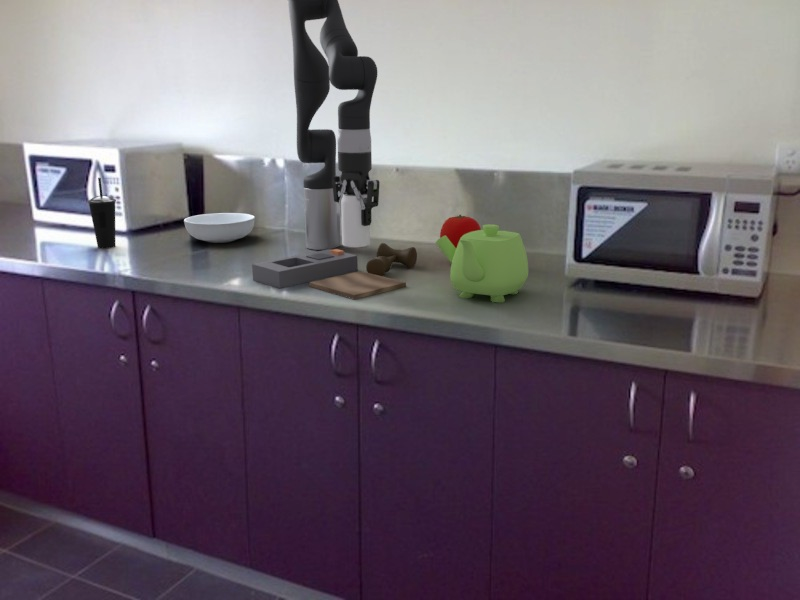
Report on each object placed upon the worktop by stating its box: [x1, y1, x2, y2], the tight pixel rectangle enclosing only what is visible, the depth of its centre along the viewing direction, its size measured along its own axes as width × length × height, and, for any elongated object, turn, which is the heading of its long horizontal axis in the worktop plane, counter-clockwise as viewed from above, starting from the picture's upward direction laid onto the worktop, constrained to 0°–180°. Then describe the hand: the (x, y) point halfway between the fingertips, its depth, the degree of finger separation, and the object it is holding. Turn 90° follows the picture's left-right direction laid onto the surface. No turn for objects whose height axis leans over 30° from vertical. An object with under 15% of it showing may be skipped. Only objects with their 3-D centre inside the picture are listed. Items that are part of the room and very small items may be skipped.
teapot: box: [435, 223, 529, 303], centre depth 175 cm, size 25×22×16 cm
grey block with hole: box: [251, 248, 359, 289], centre depth 194 cm, size 24×11×5 cm, turn 134°
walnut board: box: [308, 270, 407, 300], centre depth 184 cm, size 16×16×1 cm
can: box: [340, 193, 371, 249], centre depth 180 cm, size 6×6×12 cm
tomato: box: [439, 214, 482, 248], centre depth 205 cm, size 11×11×13 cm
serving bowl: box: [183, 212, 256, 244], centre depth 237 cm, size 21×21×7 cm
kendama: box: [365, 242, 418, 277], centre depth 200 cm, size 6×10×20 cm
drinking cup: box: [87, 177, 117, 249], centre depth 226 cm, size 8×8×20 cm
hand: (356, 223), depth 180 cm, fingers closed on can, 6 cm apart
